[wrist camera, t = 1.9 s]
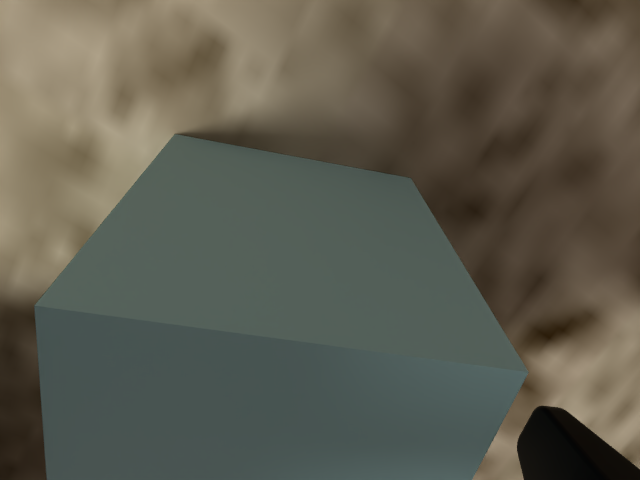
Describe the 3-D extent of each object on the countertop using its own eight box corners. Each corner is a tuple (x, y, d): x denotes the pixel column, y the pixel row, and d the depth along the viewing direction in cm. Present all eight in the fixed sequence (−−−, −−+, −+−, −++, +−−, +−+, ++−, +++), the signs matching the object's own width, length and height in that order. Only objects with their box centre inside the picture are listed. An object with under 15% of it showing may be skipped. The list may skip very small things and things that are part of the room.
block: (410, 177, 10) (528, 372, 5) (355, 354, 13) (399, 617, 7) (175, 133, 10) (34, 305, 5) (161, 328, 12) (55, 597, 7)
